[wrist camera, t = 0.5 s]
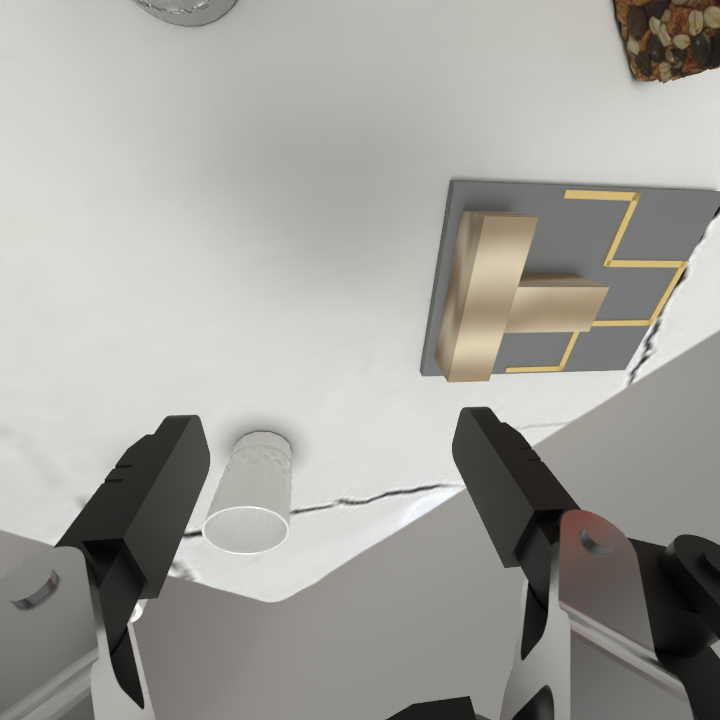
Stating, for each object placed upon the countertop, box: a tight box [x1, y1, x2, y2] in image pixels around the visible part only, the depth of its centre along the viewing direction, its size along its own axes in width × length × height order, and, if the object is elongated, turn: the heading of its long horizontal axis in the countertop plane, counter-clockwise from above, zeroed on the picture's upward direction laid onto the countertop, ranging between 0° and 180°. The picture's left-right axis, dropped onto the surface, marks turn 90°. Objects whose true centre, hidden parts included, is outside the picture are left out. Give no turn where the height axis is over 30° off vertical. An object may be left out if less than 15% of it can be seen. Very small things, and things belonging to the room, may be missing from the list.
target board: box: [420, 181, 720, 376], centre depth 30 cm, size 18×24×1 cm
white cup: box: [202, 432, 292, 555], centre depth 33 cm, size 8×8×10 cm
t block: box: [435, 210, 609, 382], centre depth 27 cm, size 14×12×4 cm
